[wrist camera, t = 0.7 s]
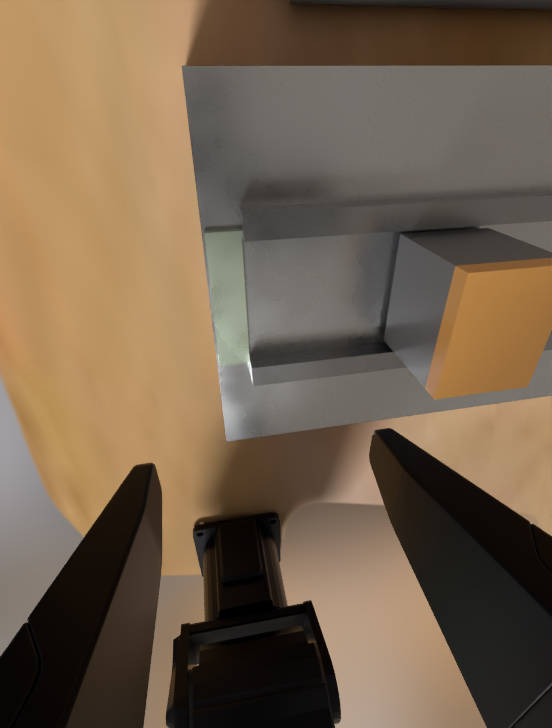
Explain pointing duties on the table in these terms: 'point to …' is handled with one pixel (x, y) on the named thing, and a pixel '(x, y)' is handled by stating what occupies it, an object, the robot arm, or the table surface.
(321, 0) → the charcoal thin cylinder
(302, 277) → the panel
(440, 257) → the toggle
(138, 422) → the table surface
